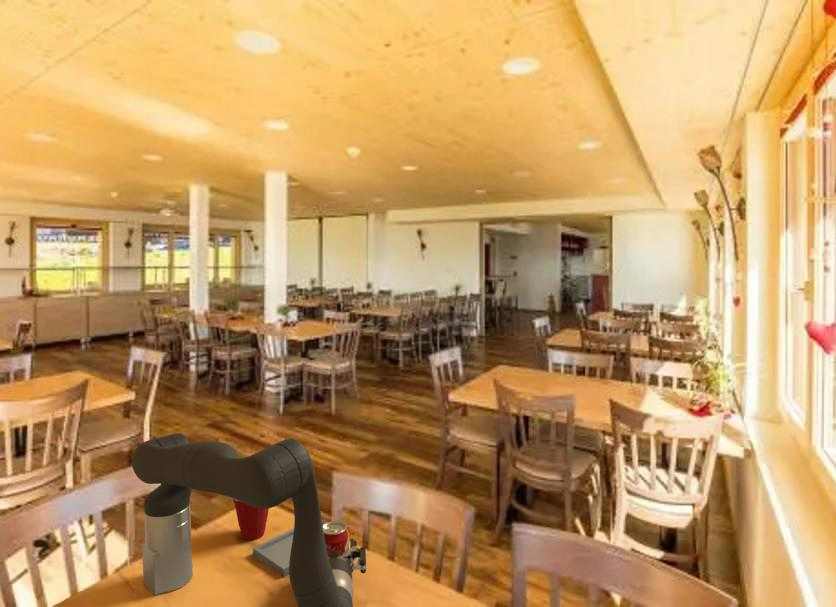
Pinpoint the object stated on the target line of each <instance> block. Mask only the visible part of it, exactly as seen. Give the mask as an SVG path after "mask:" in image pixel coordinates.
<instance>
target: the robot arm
mask: <svg viewBox="0 0 836 607" xmlns="http://www.w3.org/2000/svg"><path fill="white" fill-rule="evenodd" d="M240 457H241V456H240V454H239V453H238V451H237V450H236V449H235V447H233V446H232V445H230V444H228V443H225V442H222V441H221V442H220V441H209V440H206V441H205V440H203V441H202V440H201V441H194V442H190V441H189V438H188V437H187V436H186V435H185V434H183V433H180V432H176V433H170V434H167V435H163V436H160V437H156V438H155V437H154V438H153V439H148V440H145V441H144V442H142V443H140V444H139V445H138V446H136V448H135V449H134V451H133V453H132V456H131V467H132V470H133V472H134V474H135V476H136V477H137V478H138V479H139V480H140V481H141V482H142V483H144V484H147V485H158V486H157V487H156V488H154V489H153V490H152V491H151V492H150V493H148V494H147V495H146V497H145V499H144V501H143V510H144V511H143V515H144V537H145V541H144V542H143V543H142V544H141V553H142V572H143V573H142V574H143V576H142V577H143V579H142V580H143V585H144V586H145V587H146V588H147V589H148V590H149V591H150V592H151V594H153V595H154V596H157V595H159V594H162V593H169V592H172V591H175V590H178V589H180V588H182V587H184V586H185V585H187V584H188V583H189V582H190V581H191V580H192V579H193V573H194V572H193V555H192V554H193V552H192V550H193V549H192V526H191V525H192V522H191V495H192V490H195V491H198V492H199V491H200V492H205V493H211V494H217V495H219V496H220V495H221V496H225V497H228V498H232V499H233V498H234V499H236V500H238V501H240V502H243V503H245V504H247V505H250V506H252V507H255V508H259V509H269V510H270V509H271V508H274V507H277V506H278V505H280V504H283V503H284V502H286V501H287V500H289V499H291V500H292V505H293V511H294V526H293V529H294V534H293V541H292V547H291V554H290V562H289V575H288V576H289V583H290V586H291V590H292V593H293V596H294V600H295V603H296V606H297V607H353V598H354V585H353V582H354V581H353V572H354V571H360V573H361V574H366V573H367V555H366V553H367V552H366V547H365V546H360V548H359V547H358V544H357V540H355V539H354V538H353V537H351V538H350V537H349V538H350V541H349V542H350V543H349V546H350V548H349V550H346V551H345V552H344V553H342V554H337V555H328V554H327V549H326V545H325V539H324V533H323V519H322V514H321V513H322V511H321V504H320V498H319V492H318V485H317V478H316V473H315V468H314V464H313V461H312V457H311V455H310V452H309V451H308V449H307V448H306V446H305V445H304V444H303V443H302V442H301V441H299V440H298V439H294V438H286V439H283V440H281V441H278V442H276V443H274V444H272V445H270V446H268V447H266V448H263V449H262V450H259V451H257V452H255V453H253V454H251V455H248V456H245V457H241V458H240ZM159 484H160V485H159ZM357 559H358V560H357ZM356 560H357V561H356ZM355 561H356V562H355ZM354 562H355V563H354Z"/></svg>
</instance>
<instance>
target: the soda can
mask: <svg viewBox="0 0 836 607" xmlns="http://www.w3.org/2000/svg"><path fill="white" fill-rule="evenodd" d="M322 526H323V533H324V539H325V545H326V549H327V554H328V555H337V554H342V553H344V552H345V551H346V550H349V549H350V548H349V546H350V543H349V542H350V541H349V538H350V537H349V531H348V530H347V526H346V524H345V523H344V522H341V521H337V520H335V521H334V520H333V521H328V522H325V523H324V524H322Z"/></svg>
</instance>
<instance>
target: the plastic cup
mask: <svg viewBox="0 0 836 607" xmlns="http://www.w3.org/2000/svg"><path fill="white" fill-rule="evenodd" d="M232 501H233V504H234V508H235V512H236V518H237V523H238V527H239V530H240V536H241V538H242V540H245V541H255V540H258V539H261V538H262V537H263V536H264V535H265V532H266V528H267V527H266V525H267V521H268V516H269V510H270V508H269V509H259V508H255V507H252V506H250V505H247V504H245V503H243V502H240V501H238V500H236V499H234V498H232Z"/></svg>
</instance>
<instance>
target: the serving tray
mask: <svg viewBox="0 0 836 607" xmlns="http://www.w3.org/2000/svg"><path fill="white" fill-rule="evenodd" d="M293 534H294V528H292V529H289V530H287V531H286V532H283V533H281V534H279V535H277V536H275V537H273V538H271V539H268V540H267V541H264V542H262V543H261V544H258V545H255V546H253V547H252V557H254V558H255V559H257V560H259V561H260V562H261V563H263V564H264V565H265V566H267V567H268V568H270V569H271V570H273V571H275V572H276V573H277V574H278V575H280V576H281V577H283V578H286V577H288V576H289V562H290V554H291V547H292V541H293Z"/></svg>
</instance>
